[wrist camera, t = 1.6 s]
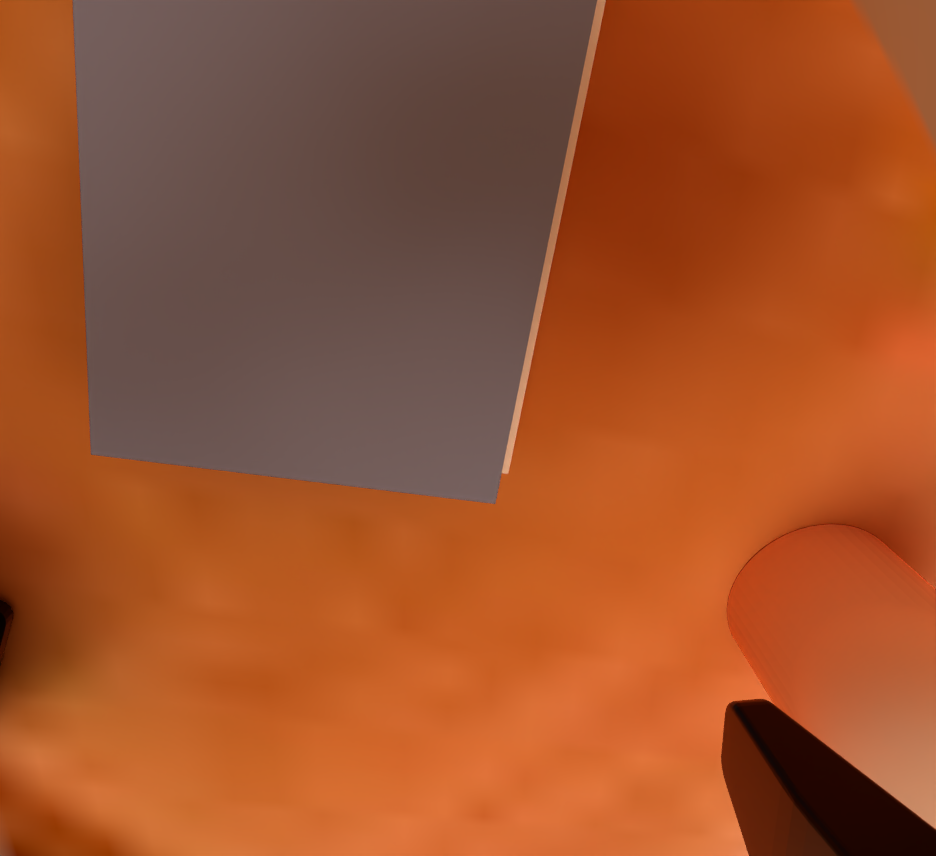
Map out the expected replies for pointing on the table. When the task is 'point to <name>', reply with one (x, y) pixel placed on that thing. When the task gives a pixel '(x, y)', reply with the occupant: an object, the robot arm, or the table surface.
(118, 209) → the gray book
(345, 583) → the table surface
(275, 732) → the table surface
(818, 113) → the table surface
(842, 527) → the pen cup
